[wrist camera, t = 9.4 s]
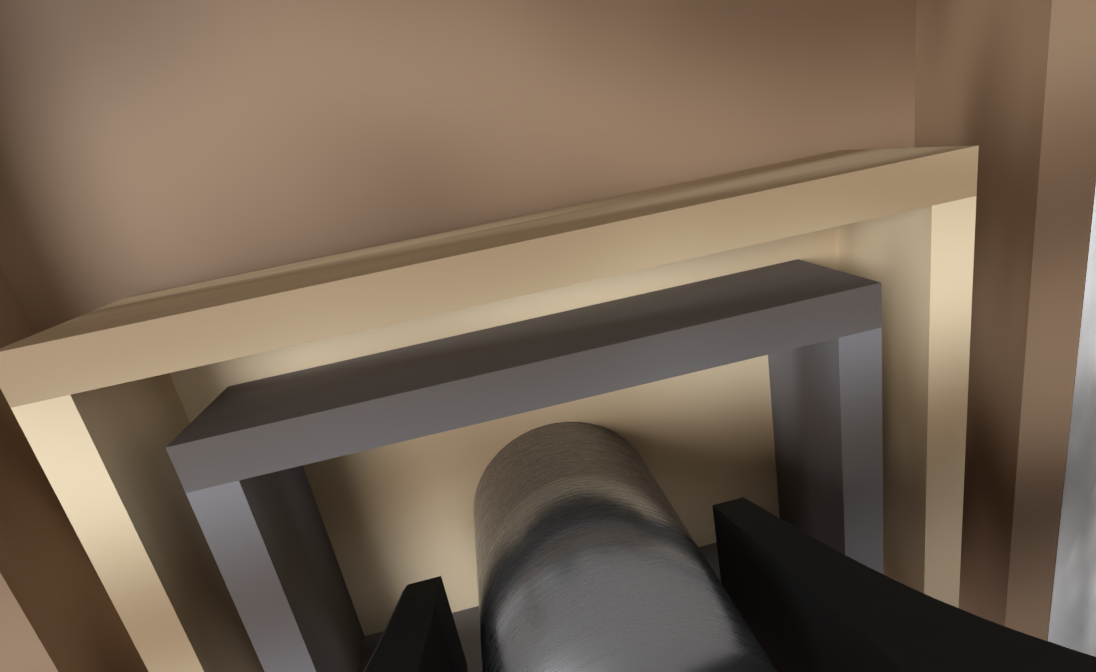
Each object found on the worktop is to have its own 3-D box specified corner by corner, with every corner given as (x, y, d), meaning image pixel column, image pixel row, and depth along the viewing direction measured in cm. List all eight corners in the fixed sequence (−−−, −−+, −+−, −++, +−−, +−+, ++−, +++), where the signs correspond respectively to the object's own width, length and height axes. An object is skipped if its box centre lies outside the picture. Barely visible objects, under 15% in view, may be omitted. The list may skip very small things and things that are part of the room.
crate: (851, 562, 16) (955, 667, 13) (301, 715, 15) (255, 877, 11) (840, 150, 13) (979, 145, 9) (122, 298, 11) (-17, 355, 8)
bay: (921, 559, 18) (1044, 664, 14) (218, 754, 16) (145, 936, 12) (937, -363, 11) (1182, -630, 7) (-269, -215, 9) (-762, -472, 6)
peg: (664, 550, 14) (815, 827, 8) (500, 601, 13) (535, 927, 8) (632, 399, 12) (785, 600, 7) (450, 452, 12) (447, 709, 6)
